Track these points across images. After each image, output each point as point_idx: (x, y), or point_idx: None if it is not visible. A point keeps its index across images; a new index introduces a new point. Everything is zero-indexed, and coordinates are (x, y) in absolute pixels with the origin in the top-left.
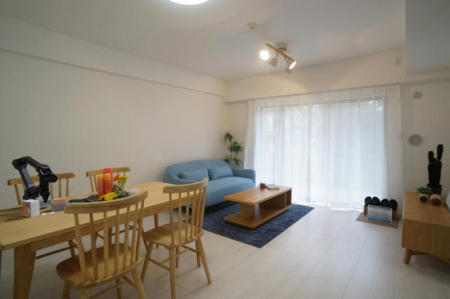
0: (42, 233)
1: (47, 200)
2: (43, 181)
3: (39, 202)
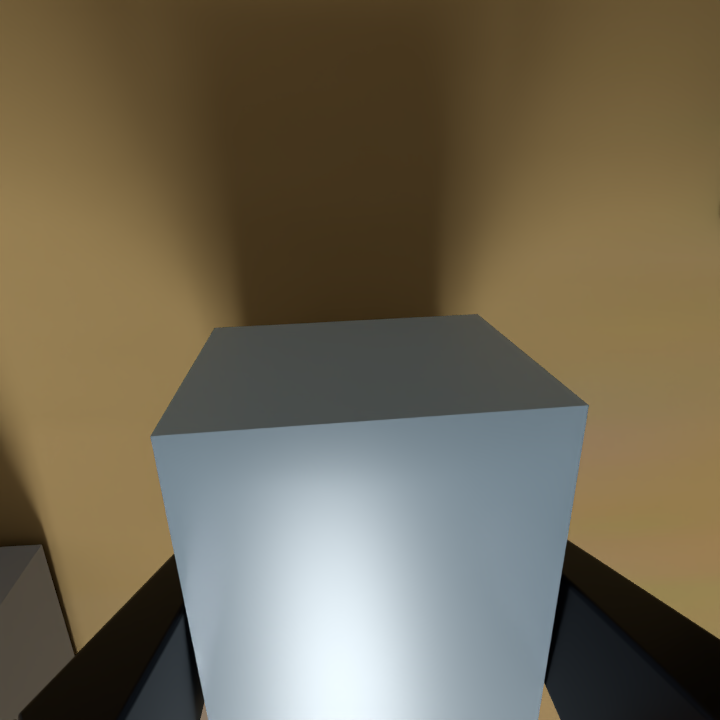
0: None
1: (210, 712)
2: None
3: (173, 408)
